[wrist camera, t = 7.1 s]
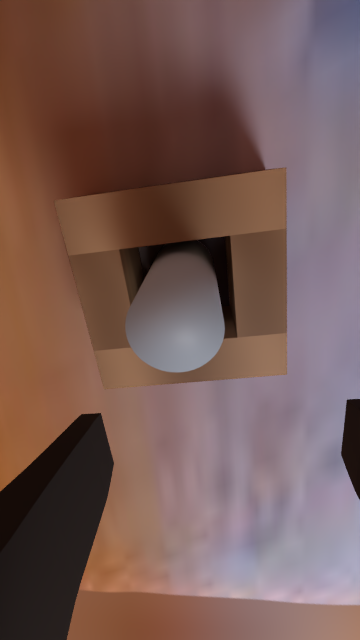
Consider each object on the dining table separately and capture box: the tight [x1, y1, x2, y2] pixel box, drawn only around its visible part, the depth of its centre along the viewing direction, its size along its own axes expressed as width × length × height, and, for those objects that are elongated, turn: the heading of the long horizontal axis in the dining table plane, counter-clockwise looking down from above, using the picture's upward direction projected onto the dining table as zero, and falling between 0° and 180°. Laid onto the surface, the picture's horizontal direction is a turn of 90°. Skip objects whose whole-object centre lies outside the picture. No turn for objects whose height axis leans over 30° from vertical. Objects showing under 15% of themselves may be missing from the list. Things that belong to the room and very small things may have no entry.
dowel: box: [125, 240, 225, 372], centre depth 14 cm, size 3×3×8 cm
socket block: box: [54, 168, 287, 389], centre depth 16 cm, size 9×9×4 cm
